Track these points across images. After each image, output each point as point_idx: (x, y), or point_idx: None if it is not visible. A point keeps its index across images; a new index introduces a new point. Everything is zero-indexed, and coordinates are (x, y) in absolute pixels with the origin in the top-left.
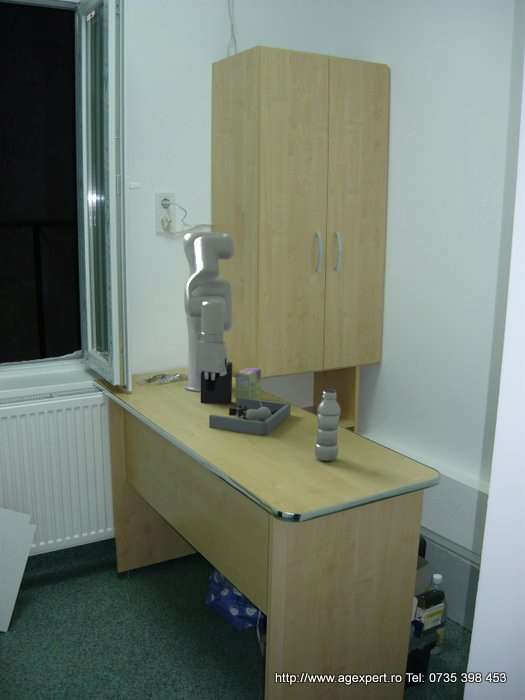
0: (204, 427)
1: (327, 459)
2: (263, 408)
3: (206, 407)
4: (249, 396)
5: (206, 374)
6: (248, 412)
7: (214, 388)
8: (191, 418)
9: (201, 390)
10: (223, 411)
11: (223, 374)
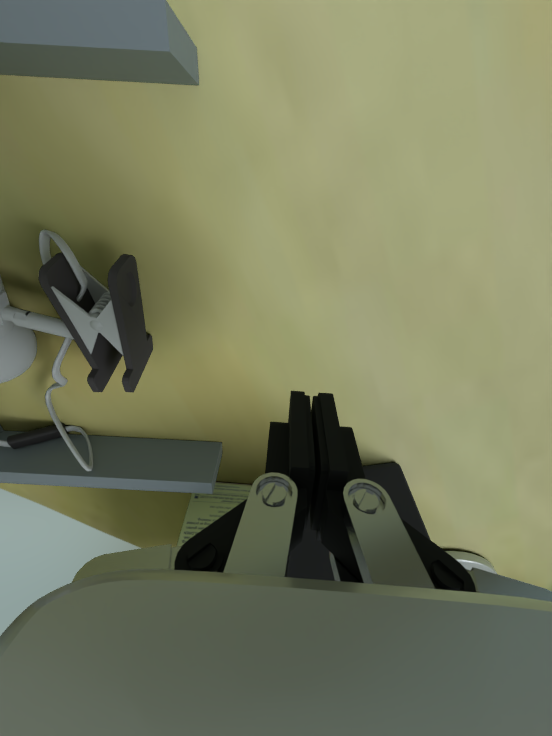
0: (230, 34)
1: None
2: None
3: (355, 420)
4: (185, 517)
5: (379, 543)
6: None
7: (270, 423)
8: (383, 221)
9: (414, 512)
10: (261, 396)
11: (109, 569)
